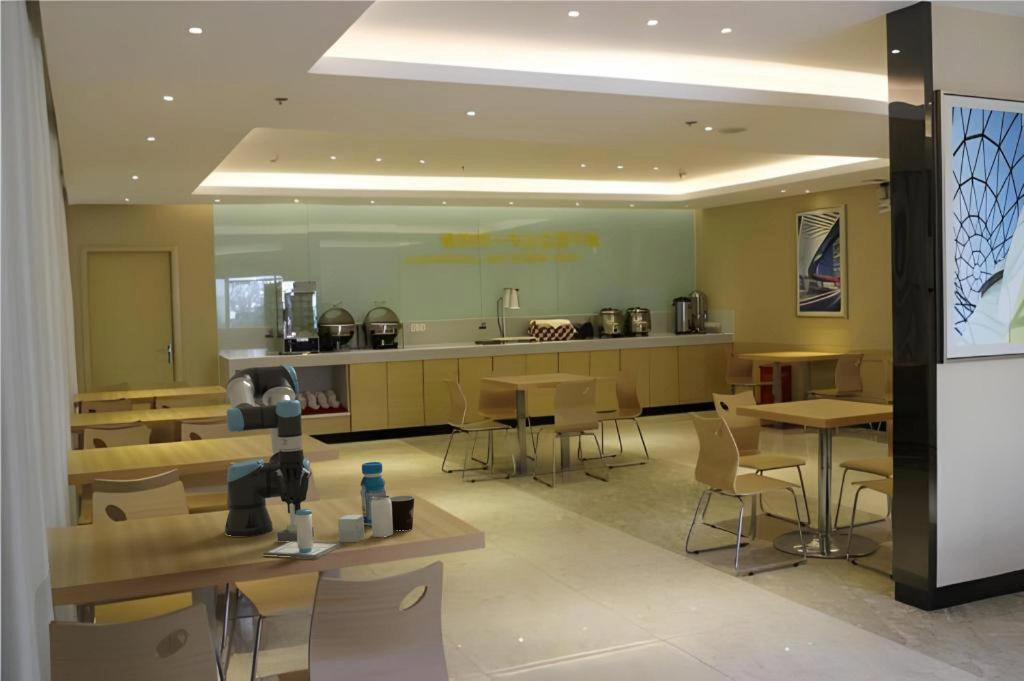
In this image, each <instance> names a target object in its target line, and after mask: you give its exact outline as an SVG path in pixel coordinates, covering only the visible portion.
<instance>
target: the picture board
mask: <svg viewBox="0 0 1024 681" xmlns="http://www.w3.org/2000/svg"><path fill="white" fill-rule="evenodd" d="M337 548H338V549H341V548H342V542H325V541H313V547H312V551H311V552H306V553H301V552H299V549H298V546H297V541H289V542H283V543H282V544H279V545H278V546H275V547H273V548H270V549H268V550H266V551H264V552H262V556H263V555H277V556H290V557H297V558H296V559H304V560H318V559H320V558H322V557H324V556H326V555H328V554H330V553H332V552H334V551H336V550H338V549H337ZM335 549H336V550H335Z"/></svg>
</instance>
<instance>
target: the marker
mask: <svg viewBox="0 0 1024 681" xmlns="http://www.w3.org/2000/svg"><path fill="white" fill-rule="evenodd" d="M312 512H313V511H312V509H311V508H301V509H300V510H297V511H296V520H297V546H298V549H299V552H301V553H306V552H311V551H312V547H313V542H314V539H313V538H314V537H313V535H312V527H313V515H312Z"/></svg>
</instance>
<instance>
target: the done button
mask: <svg viewBox="0 0 1024 681" xmlns="http://www.w3.org/2000/svg"><path fill="white" fill-rule="evenodd" d="M286 528H287V532H297V524H296V525H291V523H290V524H287V525H286Z"/></svg>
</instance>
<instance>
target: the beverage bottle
mask: <svg viewBox="0 0 1024 681" xmlns="http://www.w3.org/2000/svg"><path fill="white" fill-rule="evenodd" d="M361 472H362V475H363V477H362V478H361V481H360V487H361V489H360V496H361V508H362V510H361V511H362V513H361V514H362V515H363V520H364V526H372V519H371V501H372V498H373V497H376V496H387V488H386V487H385V485H386V480H385V478H384V477H383V476H382V473H383V463H382V462H380V461H370V462H364V463H362V464H361Z"/></svg>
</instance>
